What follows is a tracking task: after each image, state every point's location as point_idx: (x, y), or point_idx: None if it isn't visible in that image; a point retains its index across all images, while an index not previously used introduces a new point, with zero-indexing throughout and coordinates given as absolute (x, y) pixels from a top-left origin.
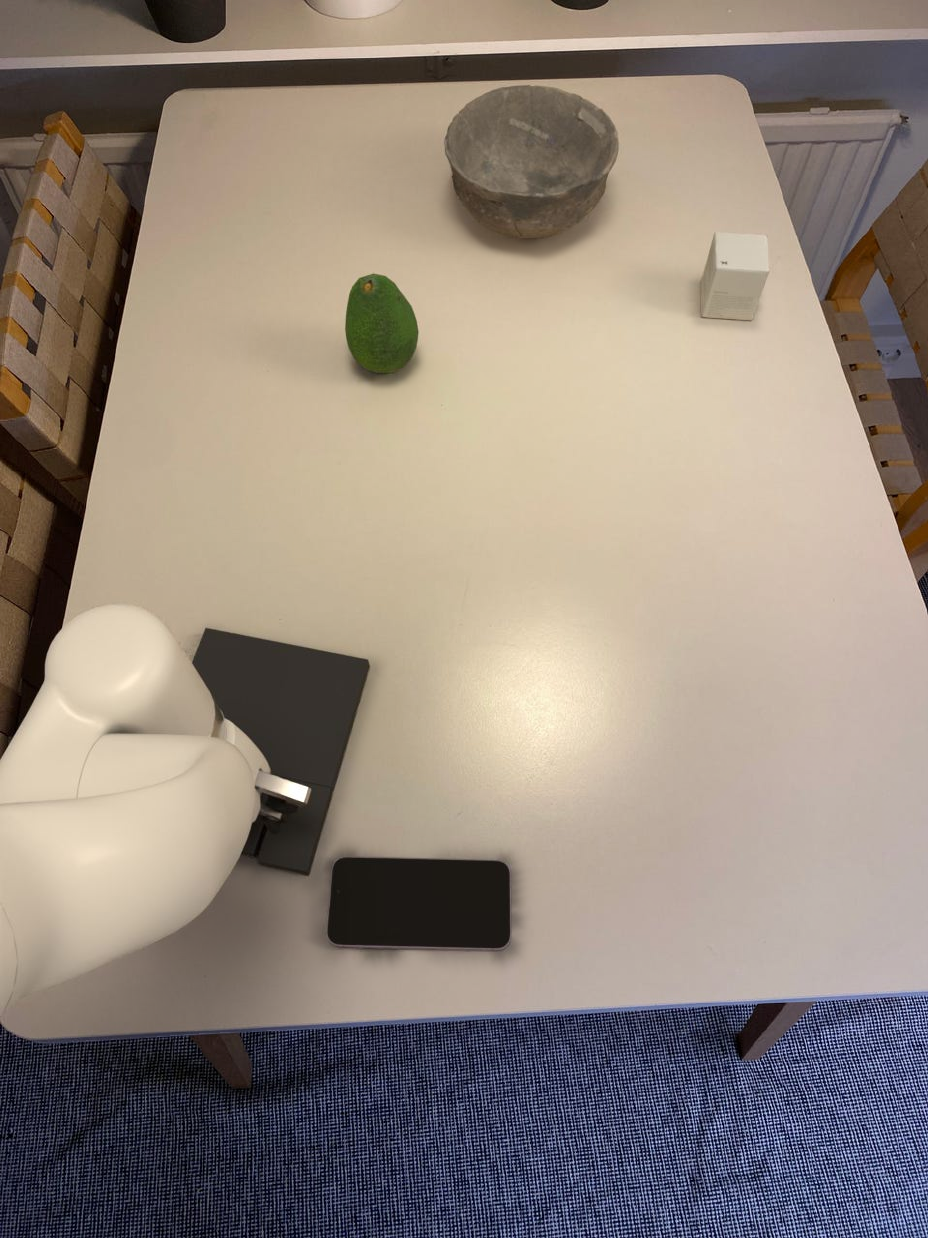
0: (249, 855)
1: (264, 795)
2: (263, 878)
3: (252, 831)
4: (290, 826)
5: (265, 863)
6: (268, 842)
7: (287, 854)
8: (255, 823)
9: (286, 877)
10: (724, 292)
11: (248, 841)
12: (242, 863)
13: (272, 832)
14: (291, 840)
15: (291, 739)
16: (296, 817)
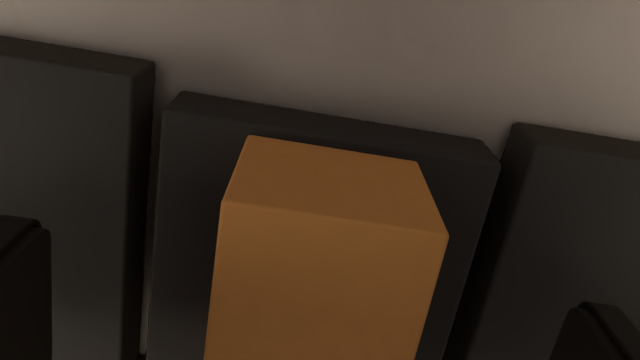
0: (201, 99)
1: (175, 337)
2: (129, 4)
3: (187, 203)
4: None
5: (99, 67)
6: (105, 160)
7: (2, 112)
8: (182, 235)
9: (32, 14)
10: None
11: (194, 161)
12: (234, 65)
13: (8, 228)
14: (3, 173)
15: None
16: None
